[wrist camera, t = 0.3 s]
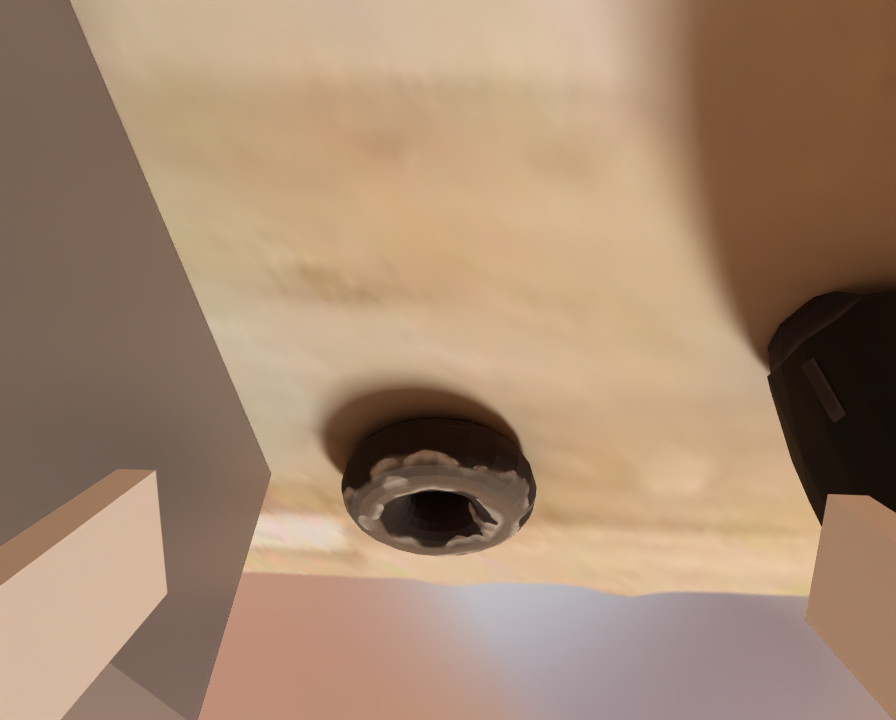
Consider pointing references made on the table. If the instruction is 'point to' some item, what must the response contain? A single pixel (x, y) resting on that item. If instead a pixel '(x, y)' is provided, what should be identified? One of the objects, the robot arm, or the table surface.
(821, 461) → the portable speaker
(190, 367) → the console
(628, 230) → the table surface
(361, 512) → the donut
